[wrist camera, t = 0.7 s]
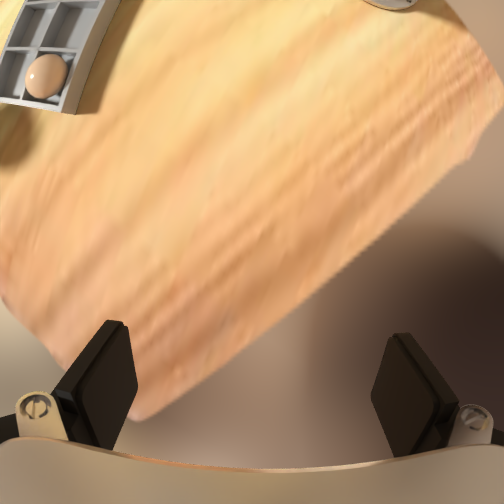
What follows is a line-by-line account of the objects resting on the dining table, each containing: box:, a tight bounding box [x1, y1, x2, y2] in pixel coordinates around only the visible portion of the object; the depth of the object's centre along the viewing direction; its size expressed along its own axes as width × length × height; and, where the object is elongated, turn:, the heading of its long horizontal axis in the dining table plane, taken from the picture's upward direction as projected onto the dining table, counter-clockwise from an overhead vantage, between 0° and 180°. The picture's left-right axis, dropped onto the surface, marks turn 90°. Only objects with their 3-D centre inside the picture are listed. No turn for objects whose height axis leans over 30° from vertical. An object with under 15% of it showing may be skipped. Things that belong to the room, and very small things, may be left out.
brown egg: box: [25, 54, 68, 99], centre depth 28 cm, size 6×6×6 cm
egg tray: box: [0, 0, 121, 115], centre depth 28 cm, size 24×16×4 cm
